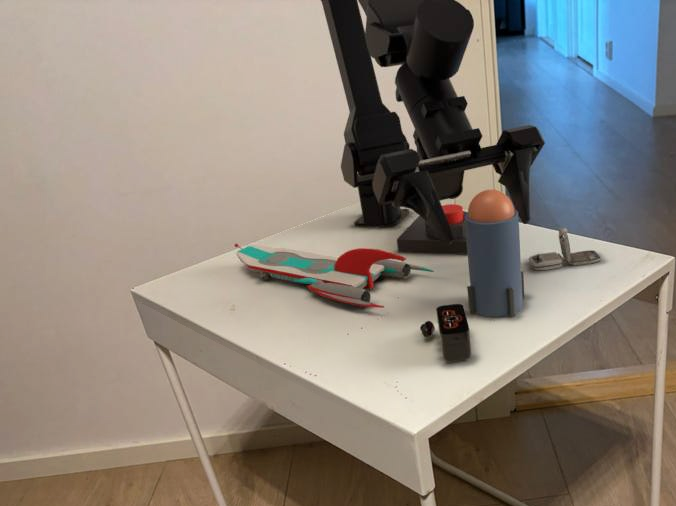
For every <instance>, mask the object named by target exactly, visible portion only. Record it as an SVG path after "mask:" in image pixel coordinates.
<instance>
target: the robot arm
mask: <svg viewBox="0 0 676 506" xmlns="http://www.w3.org/2000/svg"><path fill="white" fill-rule="evenodd" d="M320 2H321V4H322V5H321V6H322V7H323V8H322V9H323V13H324V17H325V20H326V25H327V28H328V32H329V36H330V41H331V43H332V47H333V52H334V55H335V59H336V64H337V67H338V71H339V74H340V75H339V76H340V79H341V83H342V87H343V91H344V95H345V99H346V102H347V106H348V110H349V114H348V117H347V120H346V123H345V127H344V131H343V138H344V143H345V144H344V146H343V152H342V156H341V161H340V169H341V174H342V177H343V181H344V182H345V183H346V184H348V185H349V186H351V187H352V188H354V189H357V191H358V197H359V204H360V209H361V216H359V217H358V218H357V219H356V220H355V221H354V222H353V223H354V226H355V227H387V228H388V227H389V228H391V227H392V228H394V227H396V226H397V225H398V224H399V223H400V222H402V220H404V219H405V217H406V216H408V214H409V213H410V210H411V211H413V212H414V213H416V214H417V215H418V216H420V217H422V218H423V219H424V220H425V221H426V222H427V223H428V224H429V225H430V226H431V227H432V229H433V230H434V231H435V232H436V233H437V234H438V235H439V236H440V237H441V238H442V239H443V240H444V241H445V242H446V243H447V244H451V243H452V241H453V236H452V232H451V229H450V225H449V222H448V220H447V218H446V215H445V213H444V210H443V208H442V206H443V205H442V203H441V202H442V201H444V200H453V199H458V198H459V197H460V196H461V195H462V193H463V191H464V185H463V184H464V177H465V171H470V170H473V169H478V168H482V167H487V166H492V167H493V168H494V171H495V173H496V174H498V175H500V176H499V178H498V180H497V182H498V183H499V184H500V185H502V186H504V187H505V188H506V190H507V193H508V195H509V198H510V200H511V202H512V204H513V207H514V209H516V210H517V211H518V216H519V220H520V221H521V222H522V224H523V225H527V224H528V223H529V222H530V220H531V206H530V205H531V204H530V197H531V196H530V175H531V167H532V165H533V163H534V162H535V160H536V159H537V157H538V156H539V154H540V152H541V151H542V149H543V147H544V146H545V144H546V142H545V140H544V137H543V136H542V133H541V131H540V130H539V129H538V127H536V126H535V125H532V124H527V125H523V126H517V127H513V128H508V129H503V130H502V132H501V134H500V136H499V138H498V140H497V142H496V143H495V144H494V145H488V146H484V147H481V144H480V143H481V140H482V138H483V134H482V131H481V130H480V128H479V127H478V128H473V126H472V125H471V123H470V120H469V118H468V116H467V114H466V109H467V107H468V101H467V99H466V97H465V96H464V95H461V96H458V94H457V92H456V90H455V87H454V85H453V83H452V81H451V79H452V78H453V77H454V76H455V75H457V73H458V72H459V71H460V66H461V64H462V62H463V58H464V56H465V53H466V51H467V48H468V45H469V42H470V39H471V37H472V34H473V31H474V27H475V20H474V17H473V15H472V13H471V11H470V10H469V9H467V8H466V7H465V5H463V4H461V3H460V2H459V1H457V0H320ZM360 8H361V9H362V10H363V12H364V14H365V18H366V21H365V26H364V22H363V19H362V14H361V10H360ZM373 59H374V61H375V62H376V64H377V65H378V66H379V67H381V68H389V67H396V66H399V68H398V69H397V71H396V75H395V78H394V84H395V88H396V89H395V101H396V102H398V103H401V102H402V103H403V105H404V108H405V109H406V112H407V114H408V117H409V119H410V121H411V123H412V125H413V128H414V131H413V133H412V137H413V140H414V145H415V147H416V150H415V149H413V148H410V143H409V142H408V139H407V137H406V135H405V134H404V133H403V128H402V123H401V117H400V116H399V114H398V113H397V112H396V111H390V110H389V108H388V107H387V106H386V105H385V103H383V100H382V96H381V92H380V88H379V84H378V80H377V76H376V71H375V67H374V64H373Z"/></svg>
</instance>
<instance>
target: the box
mask: <svg viewBox="0 0 676 506" xmlns="http://www.w3.org/2000/svg"><path fill="white" fill-rule="evenodd" d="M467 212H468V211H465V210H463V218H464V216H465V214H466V213H467ZM450 229H451V232H452V236H453V241H452V243H451V244H447V243H446V242H445V241H444V240H443V239H442V238H441V237H440V236H439V235H438V234H437V233H436V232H435V231H434V230H433V229H432V227H431V226H430V225H429V224H428V223H427V222H426V221H425V220H424V219H423V218H422V217H420V216H419V215H418V216H417V217H416V219H414V220H413V222H411V224H410V225H408V227H407V228H406V229H405V230H404V231H403V232H402V233H401V234H400V235H399V237H397V238H396V245H397V252H398V253H419V254H444V255H445V254H446V255H447V254H448V255H468V254H467V242H466V231H465V220H464V221H462V222H459V223H456V224H450Z"/></svg>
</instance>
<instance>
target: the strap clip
mask: <svg viewBox="0 0 676 506" xmlns="http://www.w3.org/2000/svg"><path fill="white" fill-rule="evenodd" d="M568 233H569V231H568V229H567V228H566V227H560V228H558V240H559V246H560V251H561V253H560V252H558V253H557V252H556V251H552V252H545V253H543V252H542V253H537V254H534V255H531V256H529V258H528V263H529V264H530V266H531V268H532V269H533V270H535V271H548V270H552V269H553V270H554V269H559V268H562V267H563V266H564V265H565V263H564V261H566V262H567V264H569V265H572V266H579V265H580V266H582V265H589V264H595V263H597V262H599V261H601V255H599V254H598V253H597V251H596V250H583V251H575V252H571V246H570V240H569V236H568ZM589 255H593V256H594V257H593V258H591V257H590V256H589Z"/></svg>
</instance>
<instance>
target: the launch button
mask: <svg viewBox="0 0 676 506" xmlns="http://www.w3.org/2000/svg"><path fill="white" fill-rule="evenodd" d="M442 208H443V210H444V213H445V215H446V218H447V220H448V222H449V225H450V224H456V223H459V222H462V221H464V218H463V211H464V208H463V206H462V205H461V204H456V203H455V204H453V203H451V204H443V205H442Z"/></svg>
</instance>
